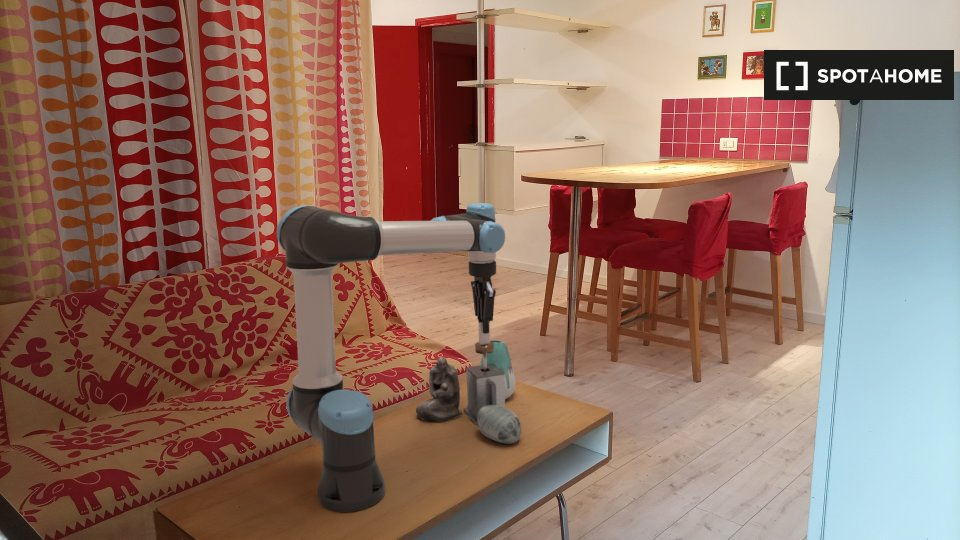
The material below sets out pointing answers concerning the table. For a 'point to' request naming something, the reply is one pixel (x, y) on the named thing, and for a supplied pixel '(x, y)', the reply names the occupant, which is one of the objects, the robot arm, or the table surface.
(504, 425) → the striped grey egg shape
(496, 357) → the vase
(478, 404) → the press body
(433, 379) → the figurine
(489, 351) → the plunger
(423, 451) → the table surface
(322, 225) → the robot arm
